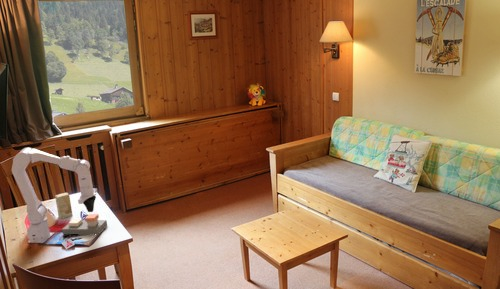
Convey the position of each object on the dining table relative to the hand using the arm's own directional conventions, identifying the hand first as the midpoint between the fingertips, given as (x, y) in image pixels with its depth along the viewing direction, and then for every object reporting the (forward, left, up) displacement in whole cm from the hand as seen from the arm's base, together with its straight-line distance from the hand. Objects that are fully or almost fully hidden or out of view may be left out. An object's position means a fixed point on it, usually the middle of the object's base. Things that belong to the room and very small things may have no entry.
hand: (90, 211), depth 207 cm
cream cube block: (0, +9, -10) cm, 13 cm away
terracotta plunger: (0, 0, -7) cm, 7 cm away
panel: (0, +5, -10) cm, 11 cm away
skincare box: (+16, +25, -10) cm, 31 cm away
